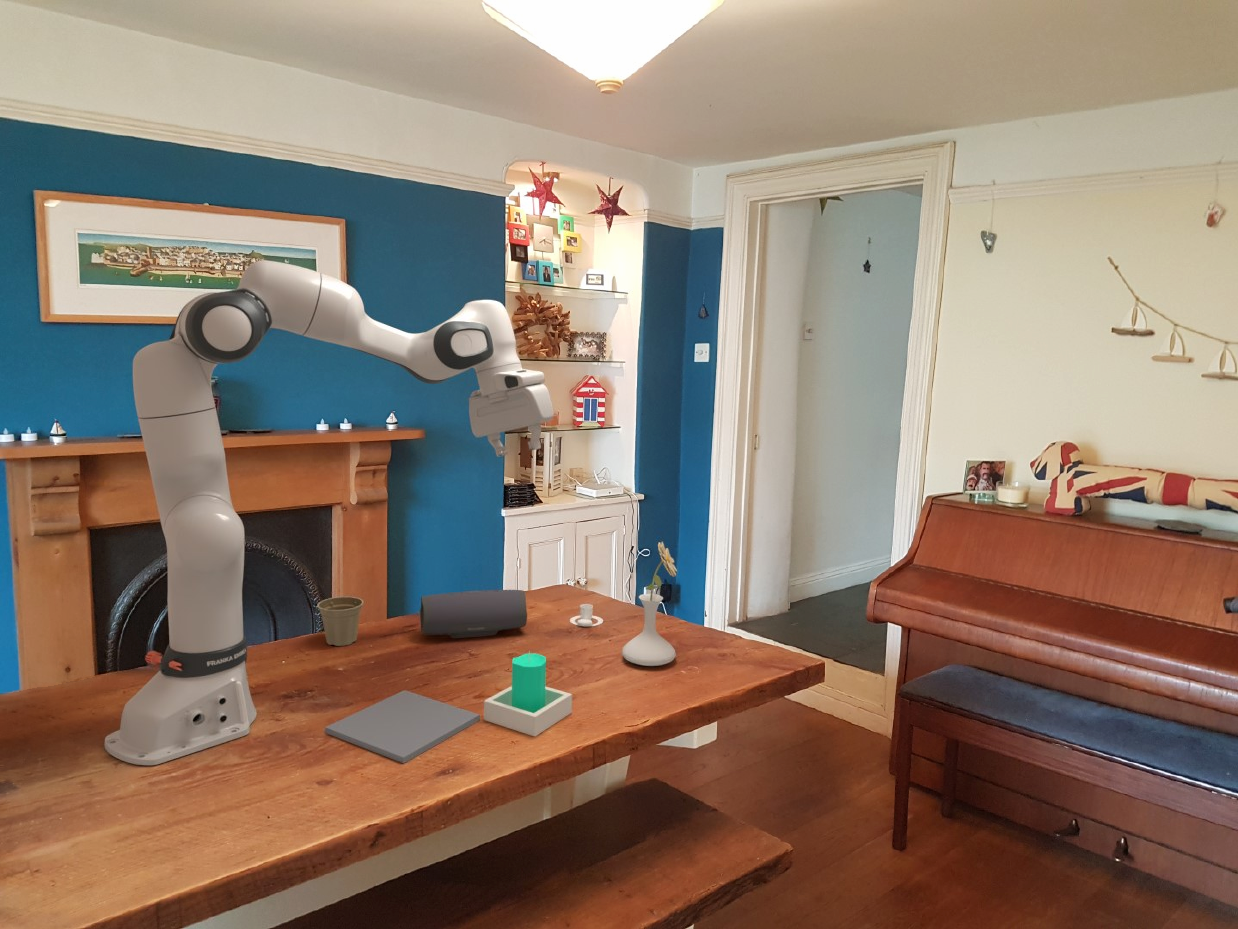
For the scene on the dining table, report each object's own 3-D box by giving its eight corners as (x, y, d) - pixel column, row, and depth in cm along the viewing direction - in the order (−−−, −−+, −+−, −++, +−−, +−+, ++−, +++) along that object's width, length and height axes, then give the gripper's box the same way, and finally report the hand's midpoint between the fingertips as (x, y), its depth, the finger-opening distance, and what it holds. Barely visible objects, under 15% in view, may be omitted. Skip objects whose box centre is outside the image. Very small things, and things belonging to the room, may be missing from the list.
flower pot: (334, 653, 170) (334, 613, 169) (309, 642, 176) (308, 603, 175) (372, 641, 178) (372, 602, 177) (347, 631, 184) (346, 593, 182)
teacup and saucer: (588, 631, 189) (588, 614, 189) (561, 624, 193) (561, 607, 193) (609, 621, 196) (609, 605, 196) (582, 615, 201) (583, 599, 200)
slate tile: (403, 763, 127) (403, 757, 127) (325, 732, 136) (324, 727, 136) (479, 720, 142) (479, 714, 142) (404, 695, 151) (404, 690, 151)
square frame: (534, 736, 137) (535, 717, 136) (483, 720, 142) (484, 700, 142) (571, 712, 146) (572, 694, 146) (522, 697, 152) (522, 679, 151)
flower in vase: (659, 675, 164) (664, 554, 160) (611, 662, 170) (614, 545, 166) (688, 656, 175) (693, 542, 171) (642, 644, 181) (646, 534, 177)
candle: (541, 707, 148) (542, 644, 146) (548, 722, 142) (550, 656, 141) (508, 711, 146) (509, 646, 144) (514, 726, 141) (515, 659, 139)
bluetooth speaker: (519, 623, 192) (519, 582, 191) (527, 637, 183) (528, 594, 182) (419, 631, 185) (419, 588, 183) (423, 646, 176) (423, 601, 175)
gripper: (455, 394, 162) (472, 462, 163) (526, 374, 149) (543, 448, 150) (479, 390, 167) (495, 456, 168) (549, 371, 154) (566, 442, 155)
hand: (518, 452), depth 159 cm, fingers open, 8 cm apart
